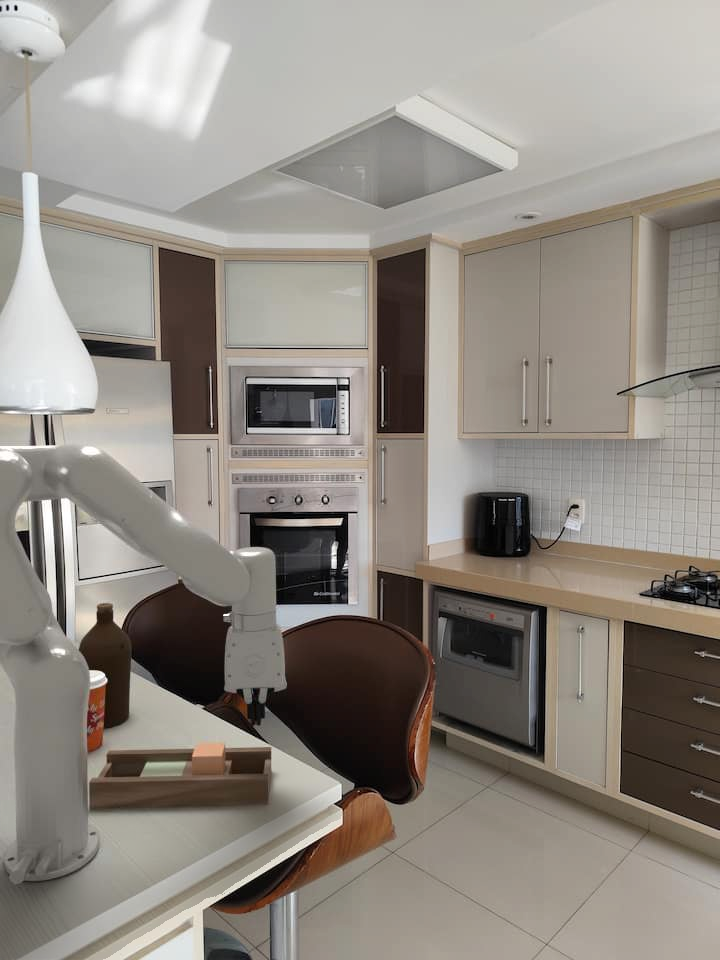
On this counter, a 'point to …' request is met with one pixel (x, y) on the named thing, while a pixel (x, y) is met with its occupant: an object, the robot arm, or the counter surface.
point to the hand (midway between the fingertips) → (256, 722)
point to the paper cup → (96, 710)
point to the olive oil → (110, 663)
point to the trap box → (180, 779)
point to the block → (208, 759)
